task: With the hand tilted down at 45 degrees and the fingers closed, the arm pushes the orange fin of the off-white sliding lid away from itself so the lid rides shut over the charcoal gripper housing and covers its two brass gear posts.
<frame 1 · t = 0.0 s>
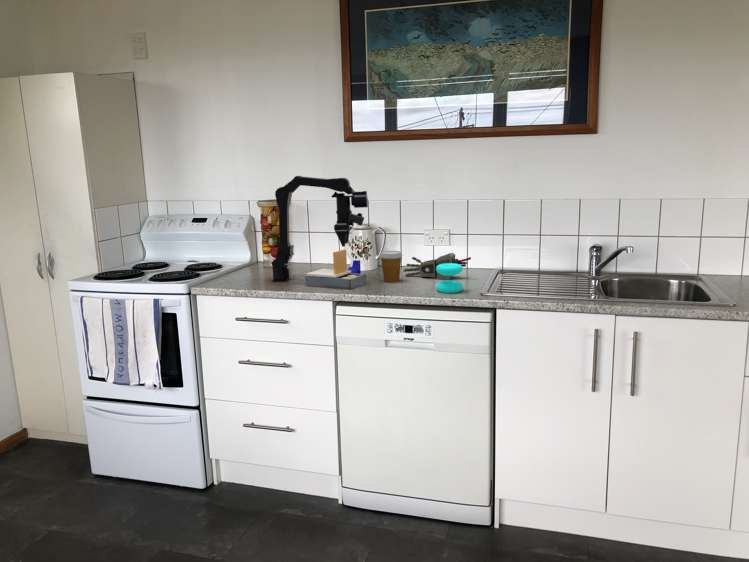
hand: (345, 245, 251), 15 cm above the countertop, tool pointing down, fingers open, 9 cm apart
lid: (328, 262, 242), point 9 cm above the countertop, slide at -7.0 cm
disposable coffee cup: (391, 281, 248), on the countertop
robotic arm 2: (436, 278, 251), on the countertop
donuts: (449, 291, 225), on the countertop
housing: (344, 285, 241), on the countertop
cable clip: (348, 276, 263), on the countertop
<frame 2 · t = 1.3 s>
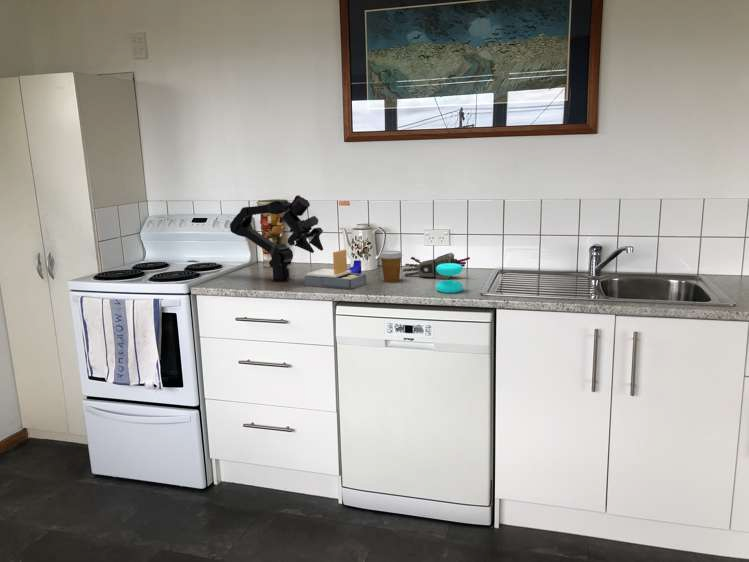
hand: (318, 251, 244), 13 cm above the countertop, tool tilted 45°, fingers open, 6 cm apart
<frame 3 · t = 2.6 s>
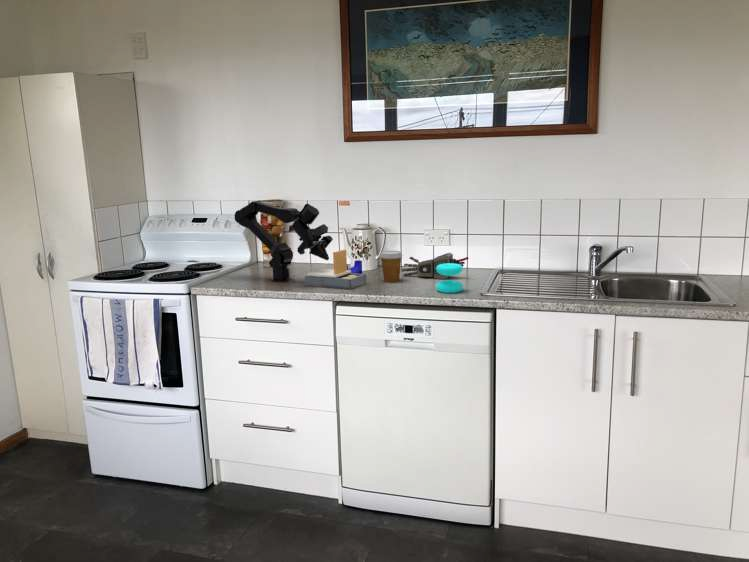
hand: (328, 259, 242), 10 cm above the countertop, tool tilted 45°, fingers closed
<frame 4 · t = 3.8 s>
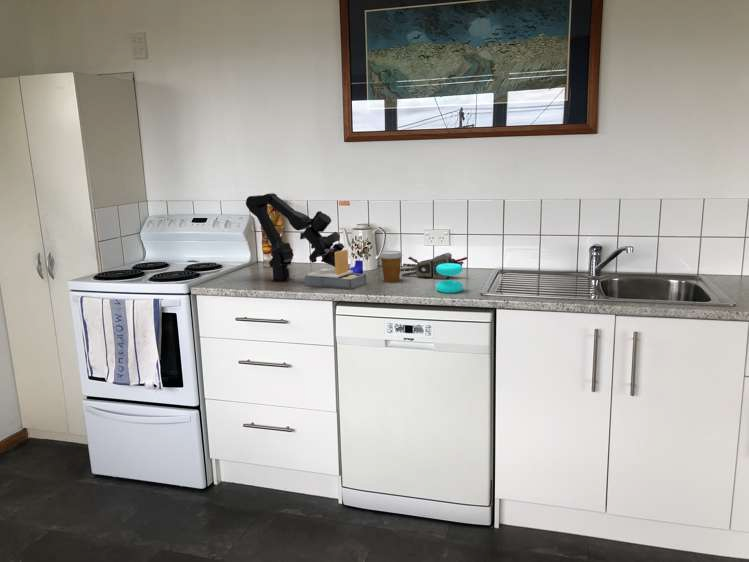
hand: (340, 267, 240), 7 cm above the countertop, tool tilted 45°, fingers closed, pressing on lid
lid: (330, 262, 242), point 9 cm above the countertop, slide at -6.3 cm, touching gripper
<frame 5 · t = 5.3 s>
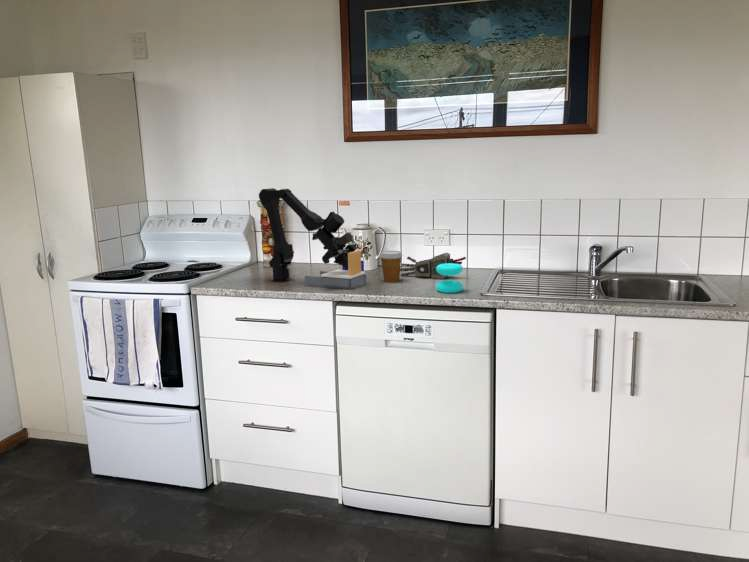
hand: (352, 268, 237), 7 cm above the countertop, tool tilted 45°, fingers closed
lid: (342, 263, 239), point 9 cm above the countertop, slide at -0.1 cm
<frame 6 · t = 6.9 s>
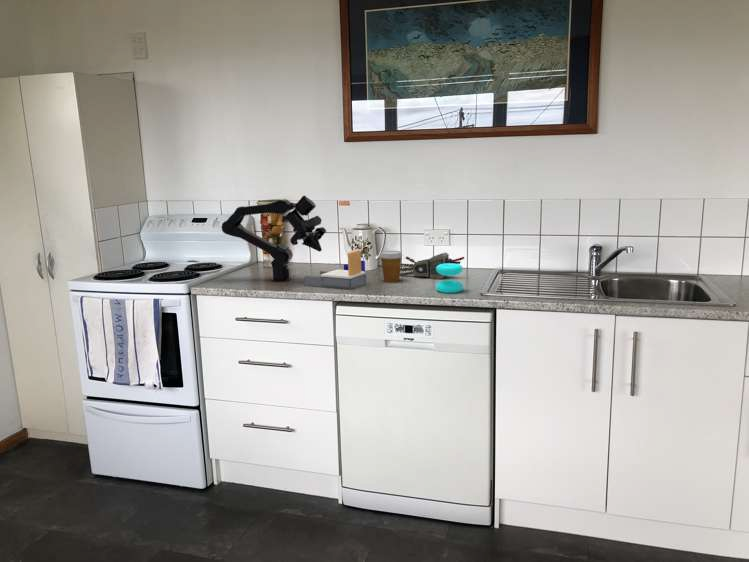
hand: (320, 250, 246), 13 cm above the countertop, tool tilted 45°, fingers closed
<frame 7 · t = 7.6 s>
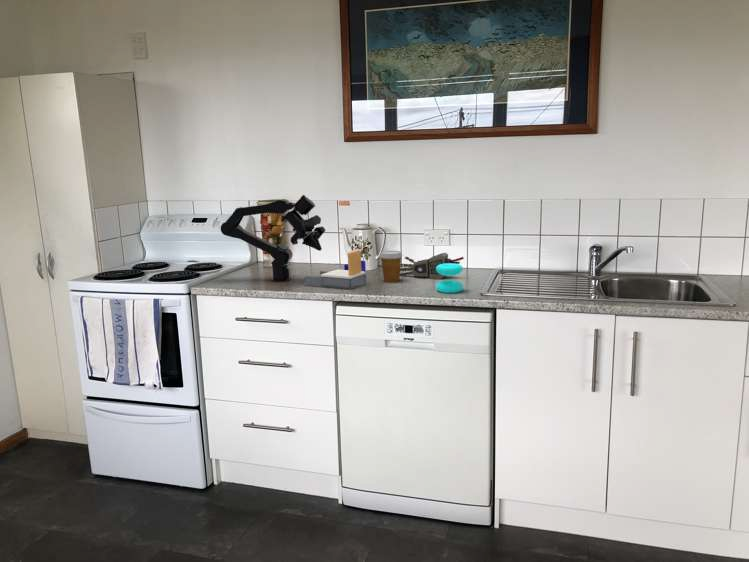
hand: (320, 249, 247), 14 cm above the countertop, tool tilted 45°, fingers closed
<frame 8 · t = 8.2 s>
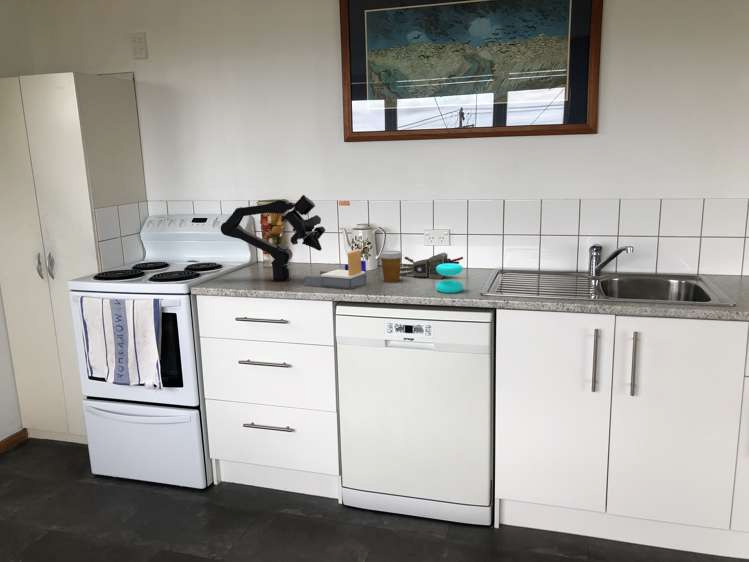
hand: (320, 249, 247), 14 cm above the countertop, tool tilted 45°, fingers closed
at the end: lid slide at -0.1 cm; lid touching nothing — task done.
